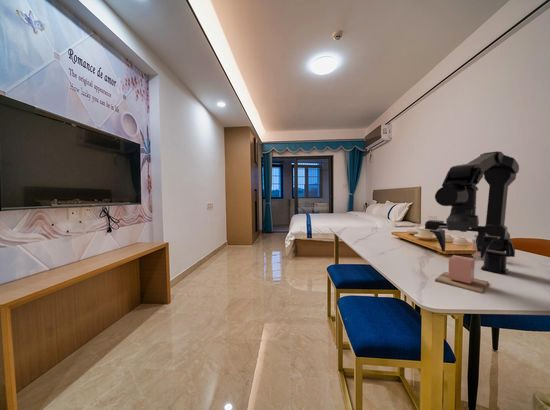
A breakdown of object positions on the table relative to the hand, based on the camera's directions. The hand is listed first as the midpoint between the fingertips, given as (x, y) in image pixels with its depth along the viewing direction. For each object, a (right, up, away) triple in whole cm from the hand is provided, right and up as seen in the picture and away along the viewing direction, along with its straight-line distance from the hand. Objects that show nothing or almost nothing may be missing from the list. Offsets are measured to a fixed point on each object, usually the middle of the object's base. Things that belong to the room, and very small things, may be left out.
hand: (461, 254), depth 67 cm
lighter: (+30, -8, +25) cm, 40 cm away
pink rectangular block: (0, -8, 0) cm, 8 cm away
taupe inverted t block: (0, -9, 0) cm, 9 cm away
